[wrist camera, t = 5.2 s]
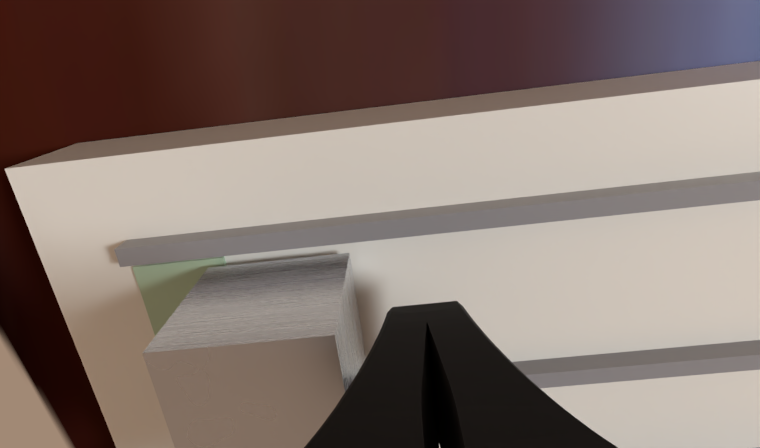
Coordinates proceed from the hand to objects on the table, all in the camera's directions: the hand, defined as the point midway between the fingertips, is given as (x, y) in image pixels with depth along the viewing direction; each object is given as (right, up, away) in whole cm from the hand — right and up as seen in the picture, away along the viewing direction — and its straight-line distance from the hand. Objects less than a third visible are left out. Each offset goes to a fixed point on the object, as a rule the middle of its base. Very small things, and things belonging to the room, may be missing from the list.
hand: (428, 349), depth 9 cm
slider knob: (-3, 0, +1) cm, 3 cm away
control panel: (+1, -2, +5) cm, 6 cm away
